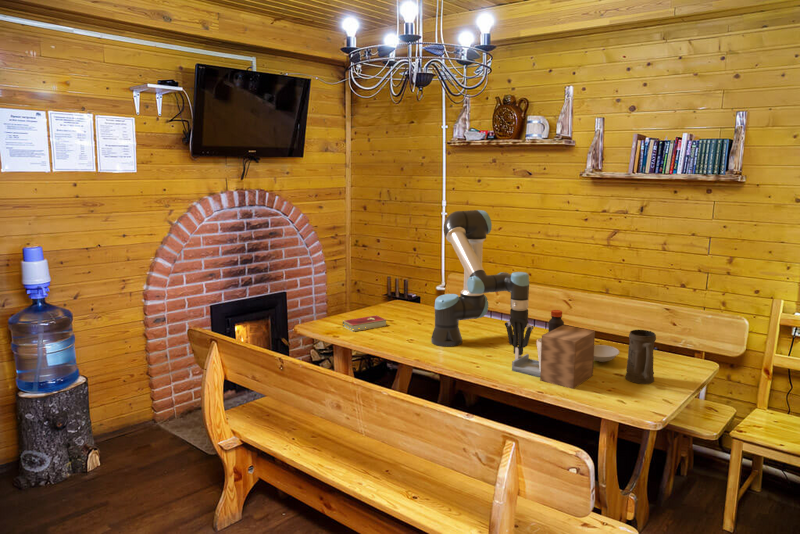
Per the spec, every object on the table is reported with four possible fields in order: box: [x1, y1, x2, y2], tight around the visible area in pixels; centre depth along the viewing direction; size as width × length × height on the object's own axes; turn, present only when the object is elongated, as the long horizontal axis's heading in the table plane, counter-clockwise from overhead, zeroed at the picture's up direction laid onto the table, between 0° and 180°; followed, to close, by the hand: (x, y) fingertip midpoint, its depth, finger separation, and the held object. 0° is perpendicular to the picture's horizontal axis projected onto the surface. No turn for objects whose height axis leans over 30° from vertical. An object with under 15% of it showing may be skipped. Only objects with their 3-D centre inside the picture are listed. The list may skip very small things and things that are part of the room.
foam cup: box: [536, 337, 542, 372], centre depth 241 cm, size 10×9×13 cm
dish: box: [594, 344, 620, 363], centre depth 255 cm, size 18×14×5 cm
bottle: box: [547, 309, 565, 333], centre depth 266 cm, size 7×7×20 cm
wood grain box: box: [539, 324, 596, 390], centre depth 235 cm, size 14×19×19 cm
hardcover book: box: [342, 314, 388, 332], centre depth 315 cm, size 12×21×4 cm, turn 121°
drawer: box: [511, 353, 540, 378], centre depth 244 cm, size 20×13×4 cm, turn 49°
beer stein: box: [625, 329, 657, 385], centre depth 230 cm, size 15×11×20 cm
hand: (518, 361), depth 250 cm, fingers closed
